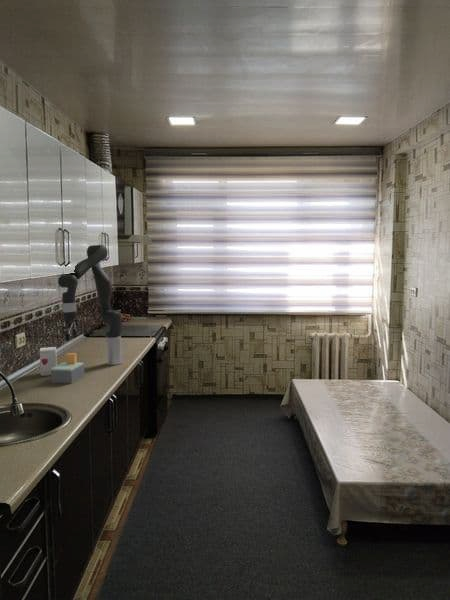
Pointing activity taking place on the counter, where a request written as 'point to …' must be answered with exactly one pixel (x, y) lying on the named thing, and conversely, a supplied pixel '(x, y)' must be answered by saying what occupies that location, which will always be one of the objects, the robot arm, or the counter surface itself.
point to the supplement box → (47, 360)
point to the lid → (68, 363)
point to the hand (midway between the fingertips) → (71, 339)
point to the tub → (67, 375)
